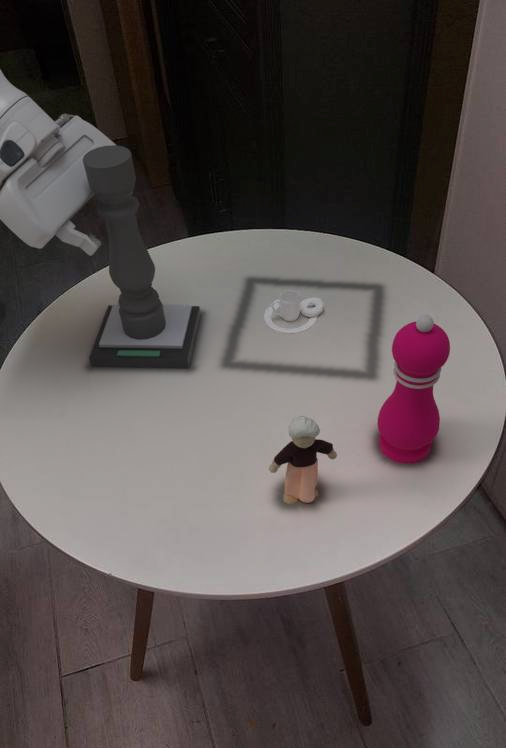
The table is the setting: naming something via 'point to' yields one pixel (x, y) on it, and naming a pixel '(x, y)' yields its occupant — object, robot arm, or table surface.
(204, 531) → the table surface
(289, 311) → the teacup and saucer
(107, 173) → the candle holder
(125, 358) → the scale
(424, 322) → the pepper mill
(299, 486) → the grandmother figurine
